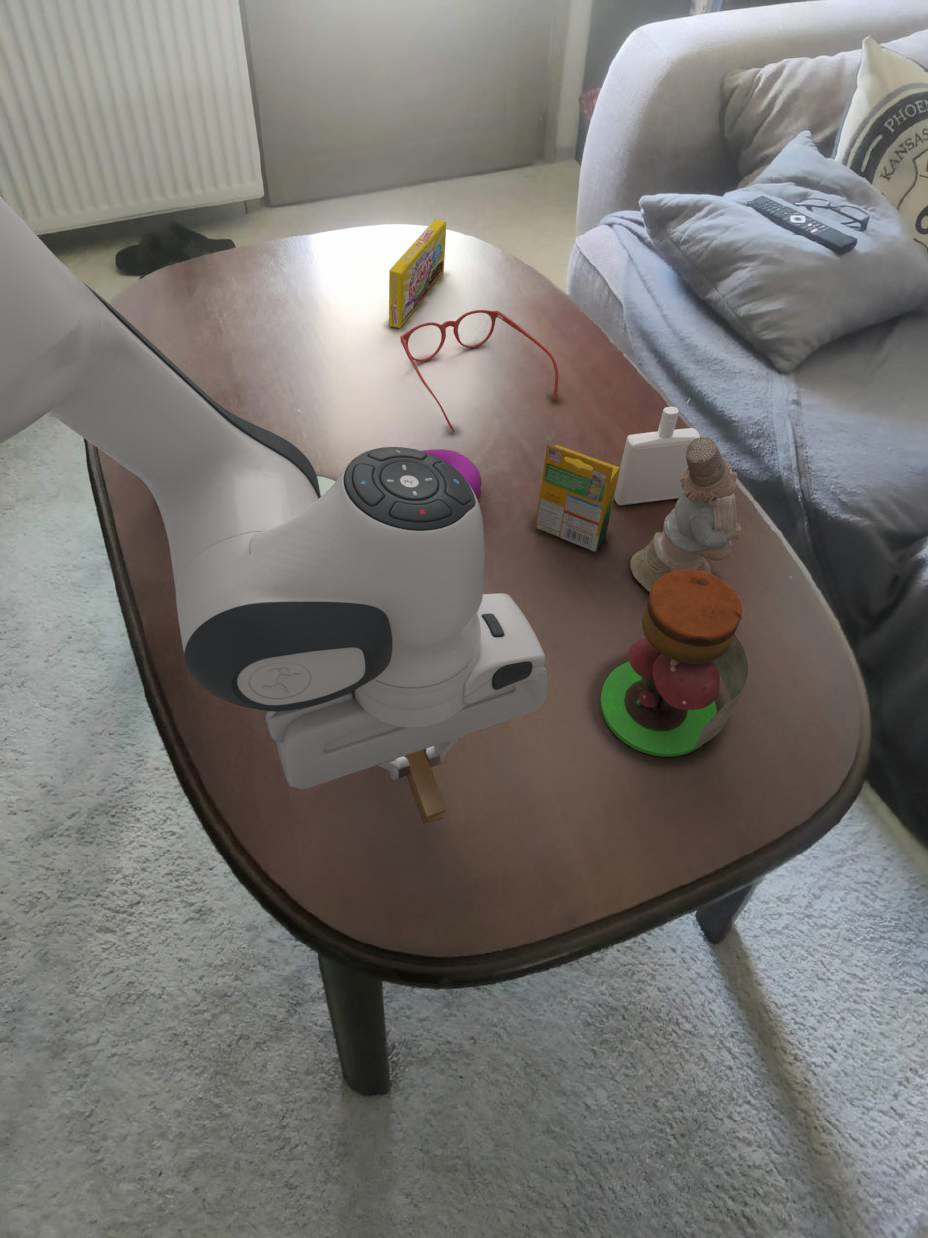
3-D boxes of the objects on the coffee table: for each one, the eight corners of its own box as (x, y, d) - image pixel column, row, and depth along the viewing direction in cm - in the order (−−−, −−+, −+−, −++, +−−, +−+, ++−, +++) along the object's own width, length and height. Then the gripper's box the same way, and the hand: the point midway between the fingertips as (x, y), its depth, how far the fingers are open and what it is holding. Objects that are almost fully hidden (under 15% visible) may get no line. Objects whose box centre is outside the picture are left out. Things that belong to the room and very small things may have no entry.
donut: (467, 464, 101) (468, 433, 97) (491, 523, 95) (493, 492, 91) (380, 477, 99) (378, 445, 96) (399, 539, 93) (398, 507, 89)
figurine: (638, 610, 88) (683, 455, 72) (624, 550, 93) (664, 394, 78) (724, 609, 88) (787, 455, 73) (706, 549, 93) (761, 394, 78)
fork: (409, 830, 68) (412, 822, 65) (339, 631, 74) (339, 616, 72) (456, 813, 69) (461, 804, 66) (383, 618, 76) (385, 603, 73)
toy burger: (605, 773, 75) (638, 672, 64) (587, 658, 83) (613, 549, 72) (739, 771, 76) (795, 670, 64) (708, 657, 84) (753, 548, 72)
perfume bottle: (617, 506, 97) (637, 419, 88) (612, 495, 98) (631, 408, 89) (684, 498, 98) (711, 412, 89) (678, 487, 100) (704, 400, 90)
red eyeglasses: (502, 334, 119) (505, 301, 115) (565, 398, 110) (570, 364, 106) (387, 365, 113) (386, 331, 109) (443, 435, 104) (444, 401, 100)
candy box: (402, 330, 119) (400, 273, 112) (387, 326, 119) (385, 269, 113) (445, 275, 128) (447, 219, 122) (432, 272, 129) (433, 216, 122)
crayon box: (606, 536, 94) (625, 452, 85) (595, 553, 92) (613, 469, 84) (546, 512, 96) (558, 428, 87) (534, 528, 95) (545, 444, 86)
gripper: (273, 746, 54) (299, 843, 64) (567, 651, 59) (546, 756, 70) (249, 669, 57) (277, 774, 68) (528, 587, 63) (514, 696, 73)
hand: (415, 764), depth 69 cm, fingers closed on fork
